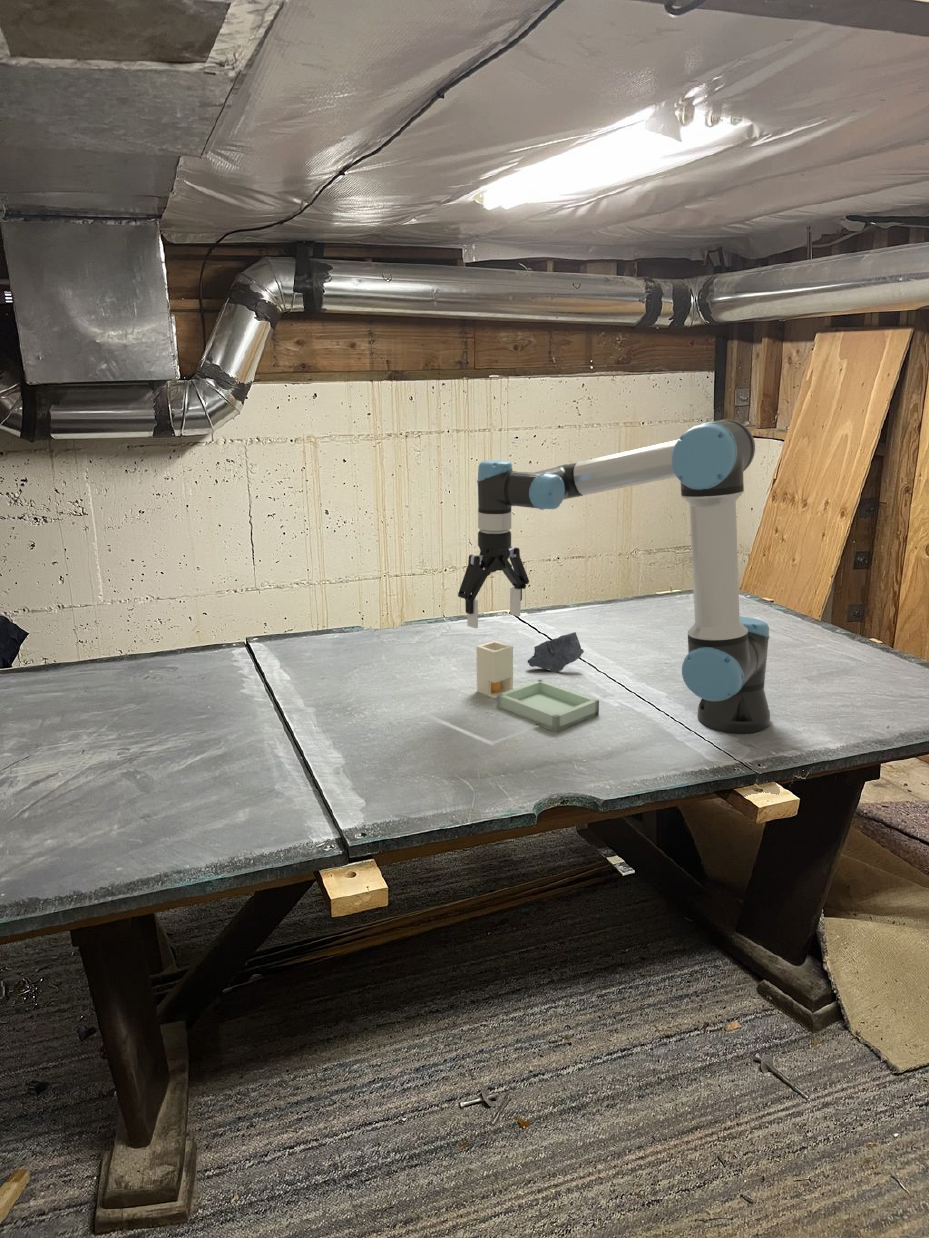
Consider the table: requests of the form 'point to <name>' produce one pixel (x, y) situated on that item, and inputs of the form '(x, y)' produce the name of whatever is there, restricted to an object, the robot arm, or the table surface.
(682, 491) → the robot arm
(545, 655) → the stone
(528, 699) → the tray
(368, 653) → the table surface
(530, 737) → the table surface
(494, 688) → the ball
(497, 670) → the hollow box
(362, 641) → the table surface
